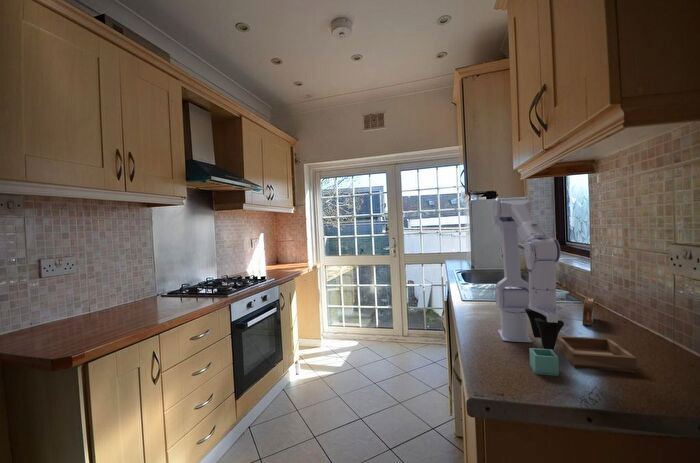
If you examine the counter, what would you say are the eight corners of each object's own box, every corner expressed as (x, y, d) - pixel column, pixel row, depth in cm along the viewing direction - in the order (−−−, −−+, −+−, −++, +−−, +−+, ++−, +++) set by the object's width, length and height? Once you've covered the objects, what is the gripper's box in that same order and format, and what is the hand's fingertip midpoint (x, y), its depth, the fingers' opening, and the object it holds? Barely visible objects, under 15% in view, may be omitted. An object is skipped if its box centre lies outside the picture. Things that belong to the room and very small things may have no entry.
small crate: (529, 365, 83) (529, 347, 83) (551, 366, 82) (551, 349, 82) (535, 374, 78) (535, 356, 78) (558, 376, 77) (558, 357, 77)
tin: (585, 316, 121) (584, 294, 120) (595, 317, 119) (595, 295, 118) (581, 327, 109) (581, 302, 109) (593, 329, 107) (593, 304, 107)
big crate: (555, 347, 93) (555, 335, 93) (609, 351, 90) (608, 338, 90) (574, 367, 81) (574, 354, 80) (636, 372, 77) (636, 358, 77)
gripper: (572, 295, 71) (573, 355, 72) (550, 282, 85) (551, 333, 86) (537, 294, 73) (538, 353, 74) (521, 282, 87) (522, 332, 88)
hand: (543, 342), depth 80 cm, fingers open, 7 cm apart
